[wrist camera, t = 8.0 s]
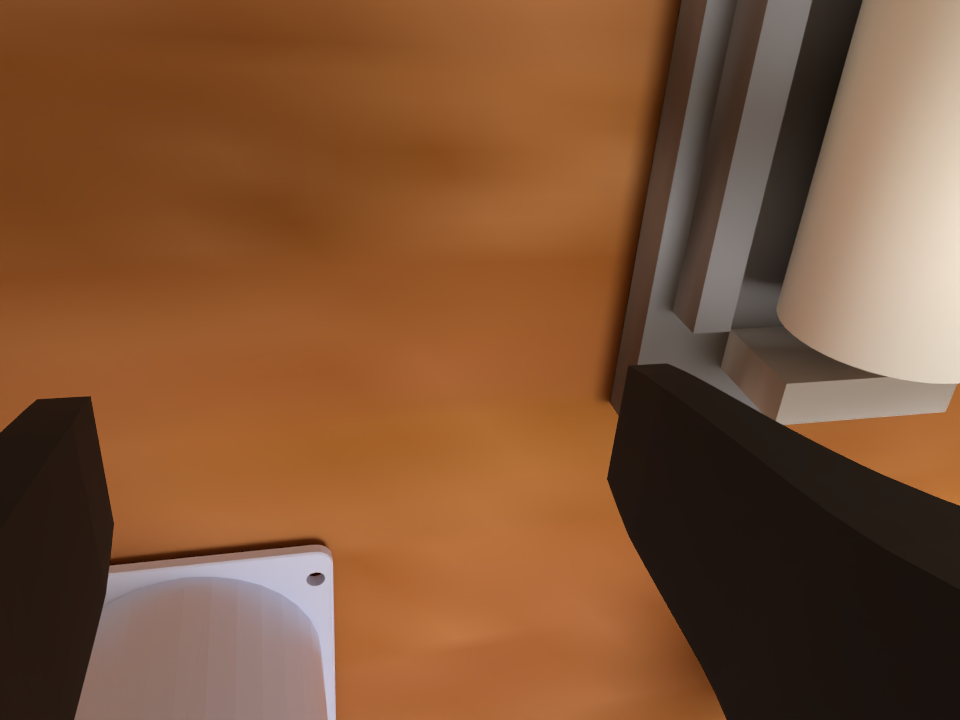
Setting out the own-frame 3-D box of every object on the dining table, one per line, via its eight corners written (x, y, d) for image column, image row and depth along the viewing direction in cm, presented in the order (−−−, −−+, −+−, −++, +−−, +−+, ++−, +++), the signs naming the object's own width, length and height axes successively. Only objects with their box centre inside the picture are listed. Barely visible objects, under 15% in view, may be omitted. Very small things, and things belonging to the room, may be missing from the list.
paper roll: (898, 293, 23) (1043, 388, 19) (736, 299, 22) (853, 402, 18) (1022, -53, 19) (1244, -29, 15) (829, -70, 18) (1012, -49, 13)
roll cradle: (905, 382, 27) (1000, 457, 23) (610, 402, 24) (668, 489, 21) (1137, -233, 19) (1332, -254, 15) (733, -291, 16) (858, -331, 13)
